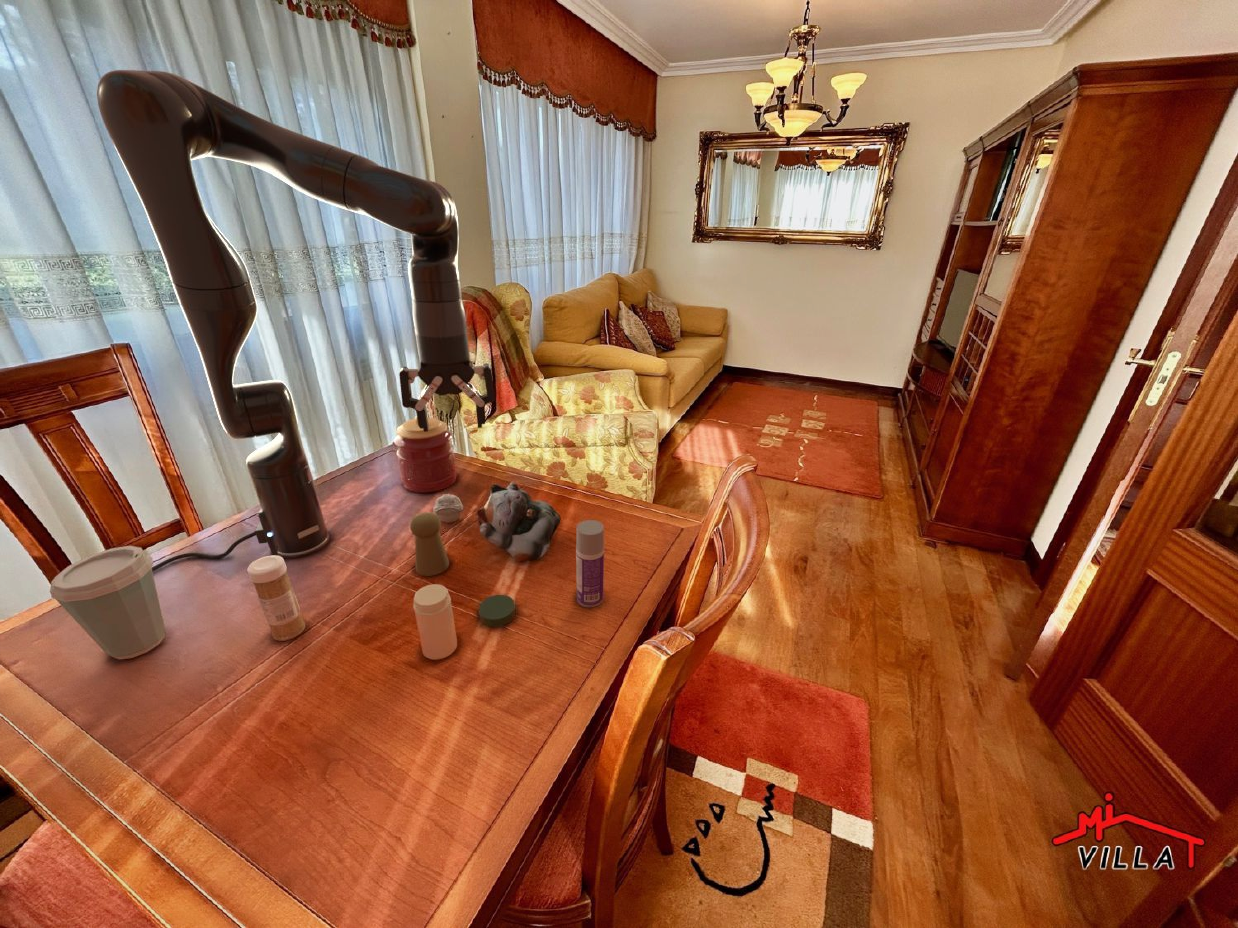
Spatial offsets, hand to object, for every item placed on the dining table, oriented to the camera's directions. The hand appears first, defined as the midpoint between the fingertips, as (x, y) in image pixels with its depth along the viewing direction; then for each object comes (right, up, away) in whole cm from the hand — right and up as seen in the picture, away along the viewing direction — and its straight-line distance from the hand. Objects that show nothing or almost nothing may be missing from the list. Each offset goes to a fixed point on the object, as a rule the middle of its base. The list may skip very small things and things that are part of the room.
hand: (453, 428), depth 83 cm
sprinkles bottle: (-25, -33, -4) cm, 41 cm away
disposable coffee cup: (-46, -34, -7) cm, 57 cm away
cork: (-8, -26, +12) cm, 29 cm away
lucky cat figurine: (+8, -23, +19) cm, 30 cm away
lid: (+7, -30, 0) cm, 31 cm away
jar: (0, -34, -6) cm, 35 cm away
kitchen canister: (-19, -10, +41) cm, 47 cm away
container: (+22, -30, +5) cm, 38 cm away
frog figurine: (-9, -19, +25) cm, 33 cm away
